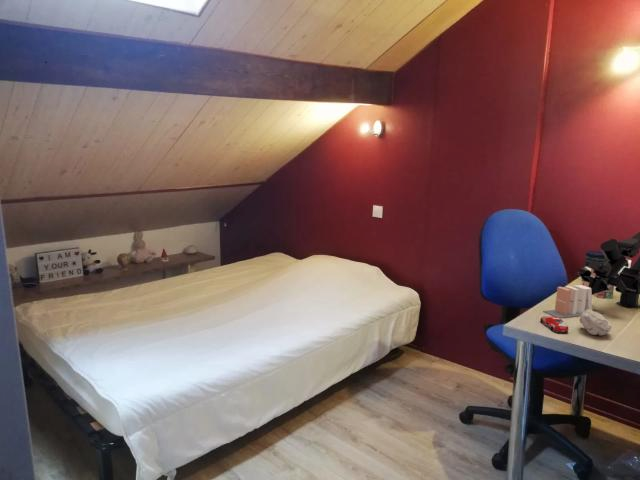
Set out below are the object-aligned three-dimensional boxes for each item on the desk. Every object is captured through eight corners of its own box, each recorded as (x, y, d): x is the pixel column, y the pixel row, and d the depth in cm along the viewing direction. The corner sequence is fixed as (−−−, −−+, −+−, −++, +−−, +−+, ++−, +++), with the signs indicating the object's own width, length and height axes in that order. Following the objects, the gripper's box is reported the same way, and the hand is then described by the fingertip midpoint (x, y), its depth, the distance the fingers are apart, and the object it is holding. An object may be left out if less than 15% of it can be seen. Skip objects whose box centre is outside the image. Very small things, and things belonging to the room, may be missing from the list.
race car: (538, 321, 178) (539, 311, 178) (552, 321, 178) (553, 311, 178) (554, 334, 165) (555, 323, 165) (570, 334, 165) (571, 324, 165)
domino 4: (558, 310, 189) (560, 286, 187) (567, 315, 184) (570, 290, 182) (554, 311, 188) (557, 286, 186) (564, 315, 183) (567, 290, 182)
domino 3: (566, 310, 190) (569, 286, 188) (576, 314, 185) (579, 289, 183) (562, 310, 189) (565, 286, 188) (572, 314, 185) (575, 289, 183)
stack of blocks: (581, 285, 229) (584, 260, 227) (596, 286, 228) (599, 261, 226) (597, 298, 209) (600, 270, 207) (612, 299, 208) (616, 272, 205)
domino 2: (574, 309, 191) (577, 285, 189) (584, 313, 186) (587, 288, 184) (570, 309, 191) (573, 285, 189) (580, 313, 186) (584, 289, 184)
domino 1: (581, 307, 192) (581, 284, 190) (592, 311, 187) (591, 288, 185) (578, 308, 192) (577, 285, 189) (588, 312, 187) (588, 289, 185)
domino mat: (586, 307, 195) (587, 306, 195) (603, 313, 187) (603, 312, 187) (543, 311, 188) (543, 310, 188) (558, 318, 181) (558, 317, 181)
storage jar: (579, 282, 234) (583, 252, 231) (584, 278, 241) (588, 249, 239) (602, 286, 228) (607, 255, 225) (606, 282, 235) (610, 252, 232)
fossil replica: (594, 326, 174) (570, 330, 172) (594, 304, 173) (569, 308, 171) (620, 336, 162) (595, 340, 160) (620, 313, 161) (595, 316, 159)
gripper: (583, 249, 196) (559, 276, 194) (624, 258, 178) (597, 288, 177) (596, 266, 199) (572, 293, 198) (637, 278, 182) (611, 307, 181)
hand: (587, 295), depth 188 cm, fingers closed
